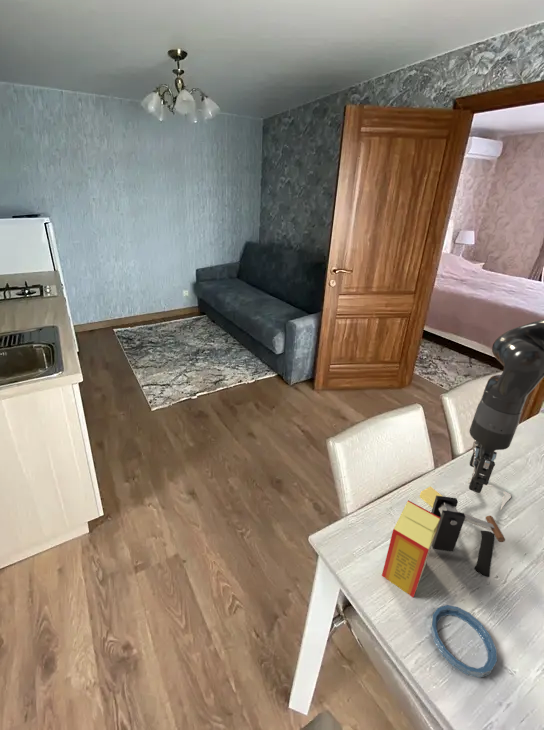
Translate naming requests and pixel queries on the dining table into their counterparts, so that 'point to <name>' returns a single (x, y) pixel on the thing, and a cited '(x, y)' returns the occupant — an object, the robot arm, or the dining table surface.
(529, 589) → the dining table surface
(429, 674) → the dining table surface
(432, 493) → the butter pat
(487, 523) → the slicer blade
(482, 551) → the kitchen cleaver
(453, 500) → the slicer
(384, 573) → the baking soda box
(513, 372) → the robot arm
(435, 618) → the blue hoop band
